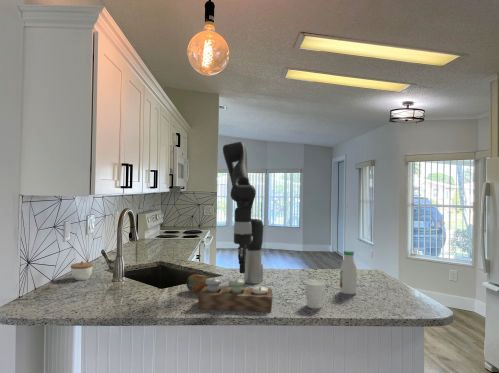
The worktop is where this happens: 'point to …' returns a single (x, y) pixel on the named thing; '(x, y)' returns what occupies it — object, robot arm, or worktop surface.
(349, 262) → the milk bottle
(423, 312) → the worktop surface
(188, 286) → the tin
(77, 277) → the lidded jar
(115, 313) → the worktop surface
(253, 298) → the brown wooden block
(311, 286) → the white cup
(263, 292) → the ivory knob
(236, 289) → the sage knob
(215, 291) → the grey knob
